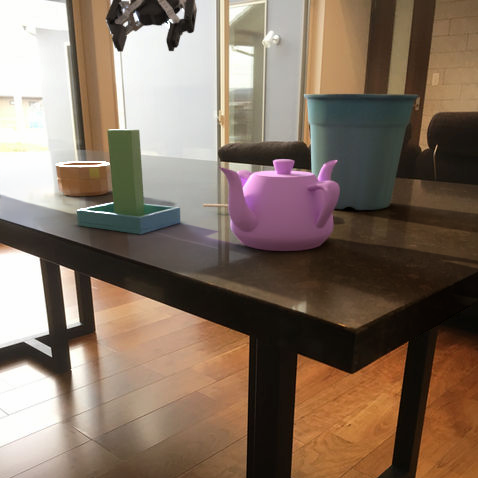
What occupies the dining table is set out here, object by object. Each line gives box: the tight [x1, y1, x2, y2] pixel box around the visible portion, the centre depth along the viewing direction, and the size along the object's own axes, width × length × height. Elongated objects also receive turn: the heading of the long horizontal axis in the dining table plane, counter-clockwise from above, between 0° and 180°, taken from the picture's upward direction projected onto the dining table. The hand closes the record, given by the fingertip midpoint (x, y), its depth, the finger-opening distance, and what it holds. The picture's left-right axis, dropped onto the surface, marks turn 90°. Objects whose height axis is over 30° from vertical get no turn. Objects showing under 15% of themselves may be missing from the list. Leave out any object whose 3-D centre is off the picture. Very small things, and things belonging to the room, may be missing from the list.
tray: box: [75, 202, 182, 235], centre depth 67 cm, size 10×8×2 cm
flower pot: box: [303, 93, 419, 211], centre depth 79 cm, size 16×16×16 cm
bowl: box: [55, 161, 112, 197], centre depth 92 cm, size 9×9×5 cm
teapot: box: [218, 158, 340, 252], centre depth 57 cm, size 12×14×9 cm
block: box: [107, 128, 145, 217], centre depth 65 cm, size 3×3×11 cm
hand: (143, 46), depth 82 cm, fingers open, 8 cm apart
